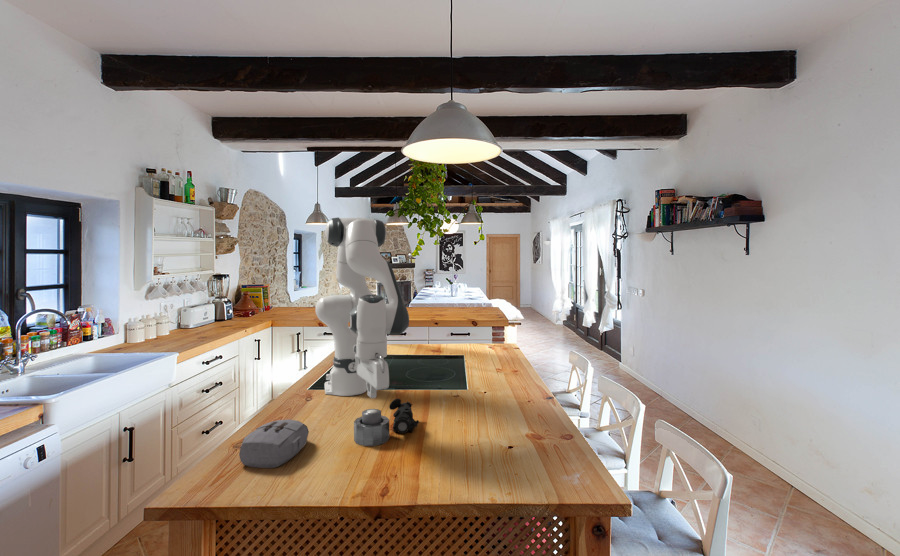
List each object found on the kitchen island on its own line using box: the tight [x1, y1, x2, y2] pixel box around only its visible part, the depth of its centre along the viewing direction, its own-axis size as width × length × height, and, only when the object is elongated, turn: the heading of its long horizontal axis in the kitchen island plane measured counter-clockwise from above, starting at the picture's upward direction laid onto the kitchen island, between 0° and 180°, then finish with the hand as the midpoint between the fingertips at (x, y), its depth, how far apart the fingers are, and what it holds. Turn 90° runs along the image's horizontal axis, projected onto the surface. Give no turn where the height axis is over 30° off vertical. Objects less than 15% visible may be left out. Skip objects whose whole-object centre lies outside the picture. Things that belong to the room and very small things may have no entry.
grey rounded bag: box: [238, 419, 310, 469], centre depth 123 cm, size 15×8×20 cm
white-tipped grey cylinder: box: [361, 408, 382, 425], centre depth 132 cm, size 6×6×5 cm
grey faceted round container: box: [353, 414, 390, 447], centre depth 132 cm, size 10×10×6 cm
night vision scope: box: [388, 398, 420, 434], centre depth 140 cm, size 8×18×10 cm
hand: (371, 396), depth 131 cm, fingers closed
